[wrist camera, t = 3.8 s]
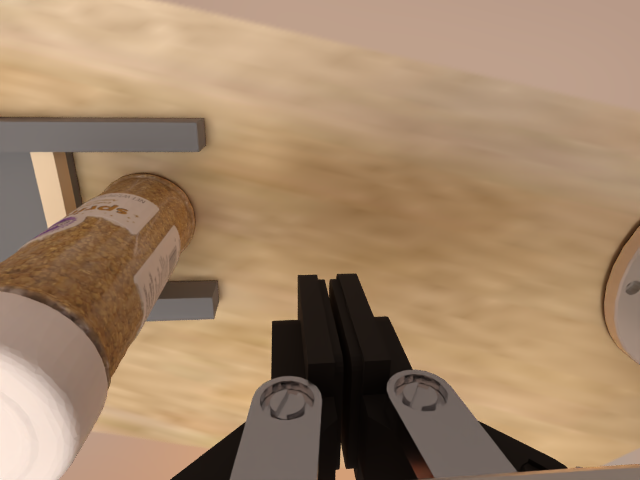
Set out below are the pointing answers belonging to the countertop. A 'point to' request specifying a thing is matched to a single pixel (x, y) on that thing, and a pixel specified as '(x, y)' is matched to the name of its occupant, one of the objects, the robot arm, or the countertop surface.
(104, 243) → the sprinkles bottle
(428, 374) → the robot arm
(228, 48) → the countertop surface
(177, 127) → the tray
